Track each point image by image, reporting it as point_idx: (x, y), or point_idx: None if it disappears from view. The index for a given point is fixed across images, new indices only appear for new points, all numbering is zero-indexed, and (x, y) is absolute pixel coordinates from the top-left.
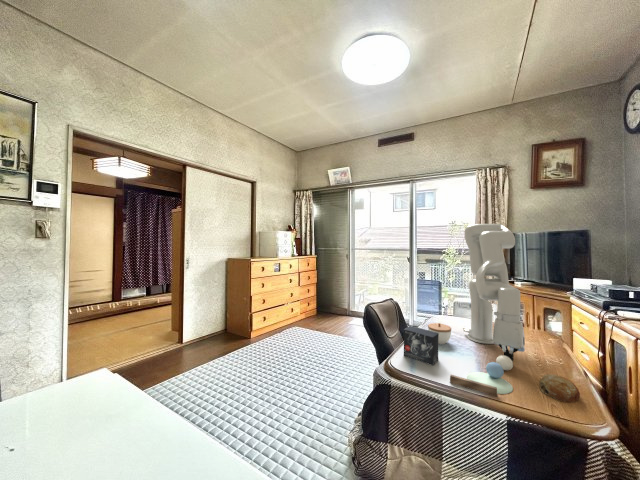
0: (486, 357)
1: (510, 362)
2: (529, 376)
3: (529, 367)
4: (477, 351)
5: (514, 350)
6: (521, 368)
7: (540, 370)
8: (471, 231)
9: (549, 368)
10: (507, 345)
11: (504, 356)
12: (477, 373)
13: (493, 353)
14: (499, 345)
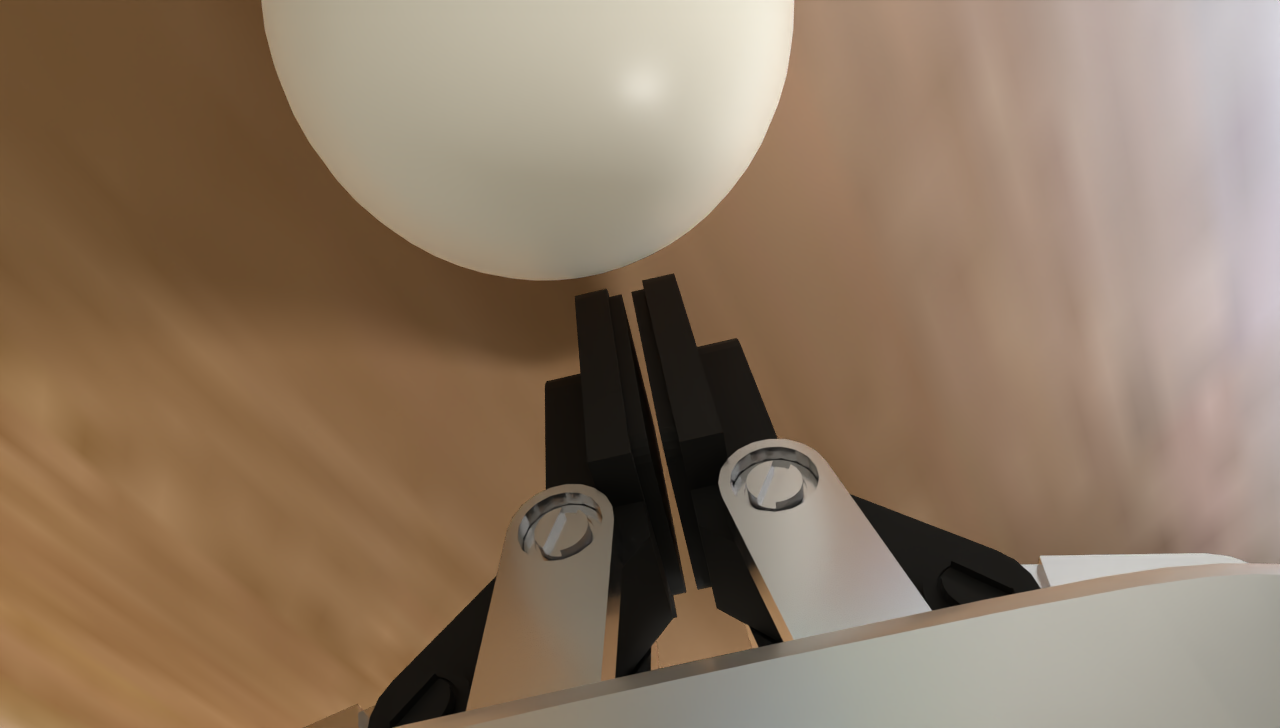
0: (1072, 245)
1: (264, 7)
2: (94, 211)
3: (422, 538)
4: (1274, 336)
5: (476, 660)
6: (441, 402)
7: (288, 582)
8: None
9: (310, 706)
10: (630, 706)
11: (508, 47)
12: None
13: (1012, 498)
14: (1000, 568)
